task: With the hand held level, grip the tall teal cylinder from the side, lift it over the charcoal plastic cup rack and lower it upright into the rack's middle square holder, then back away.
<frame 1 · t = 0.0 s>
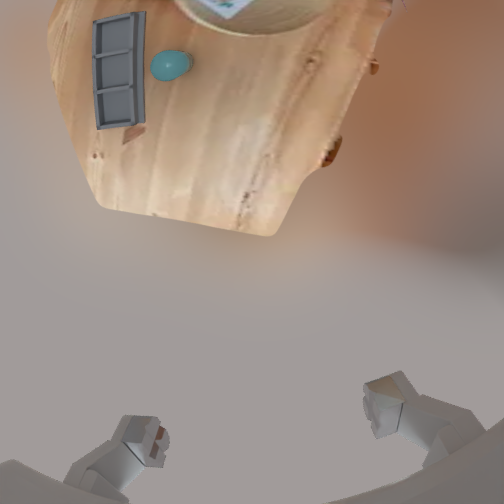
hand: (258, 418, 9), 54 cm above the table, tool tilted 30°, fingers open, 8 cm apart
teal cylinder: (180, 62, 42), on the table
cup rack: (118, 69, 40), on the table
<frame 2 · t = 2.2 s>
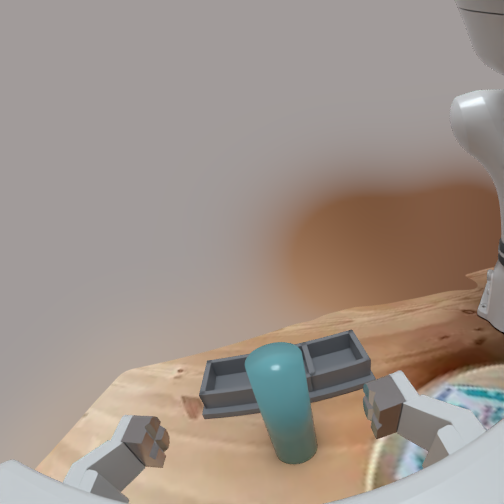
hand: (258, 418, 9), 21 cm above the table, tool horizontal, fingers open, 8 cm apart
teal cylinder: (296, 448, 26), on the table
cup rack: (286, 382, 38), on the table
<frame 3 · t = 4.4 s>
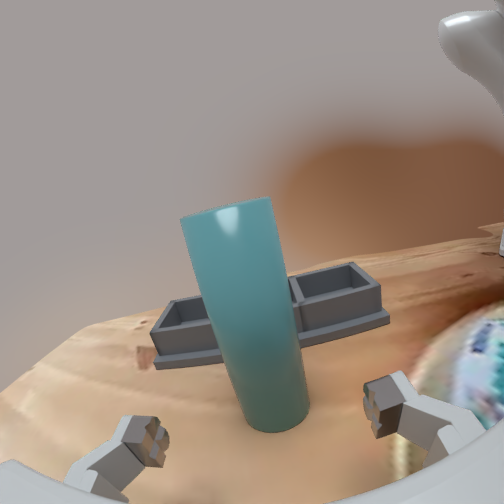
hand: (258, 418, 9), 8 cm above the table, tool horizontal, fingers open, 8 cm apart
teal cylinder: (276, 408, 18), on the table
cup rack: (268, 327, 31), on the table
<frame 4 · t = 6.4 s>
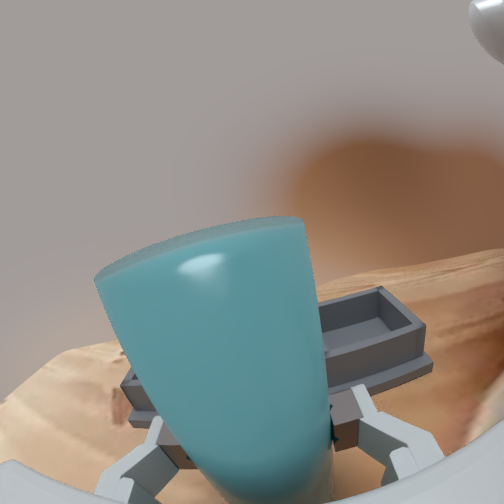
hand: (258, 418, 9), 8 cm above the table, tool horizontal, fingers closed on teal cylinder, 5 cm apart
cup rack: (275, 374, 22), on the table
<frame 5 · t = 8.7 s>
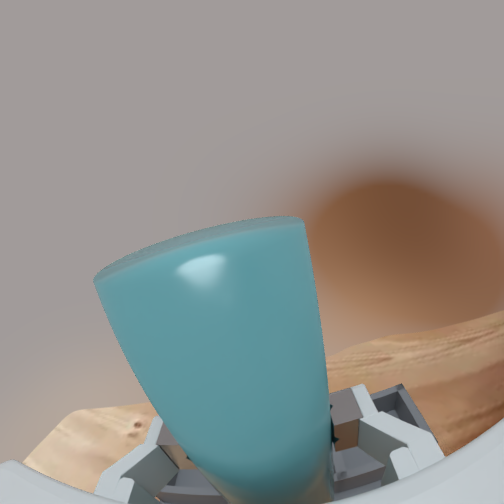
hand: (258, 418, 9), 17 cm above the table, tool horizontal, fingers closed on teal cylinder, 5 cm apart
cup rack: (293, 469, 19), on the table
when the fingers open (10 cm above the table, at t = 11.4 s): teal cylinder drops 1 cm, resting on cup rack.
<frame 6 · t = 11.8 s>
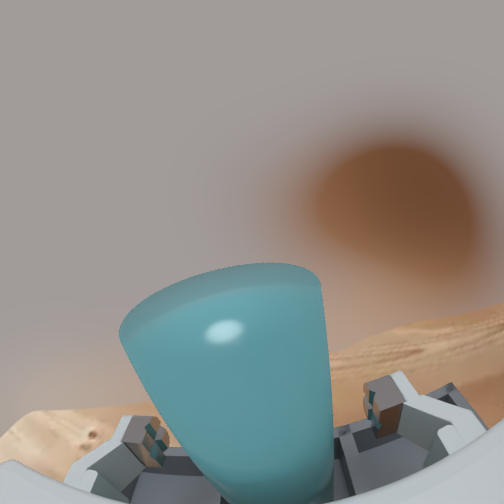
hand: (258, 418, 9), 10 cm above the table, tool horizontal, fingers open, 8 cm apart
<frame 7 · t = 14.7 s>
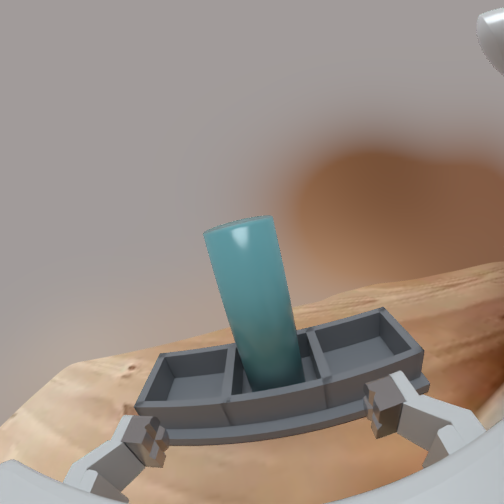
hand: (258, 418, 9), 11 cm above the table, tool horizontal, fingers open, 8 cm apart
teal cylinder: (278, 385, 23), point 1 cm above the table, touching cup rack
cup rack: (281, 392, 23), on the table
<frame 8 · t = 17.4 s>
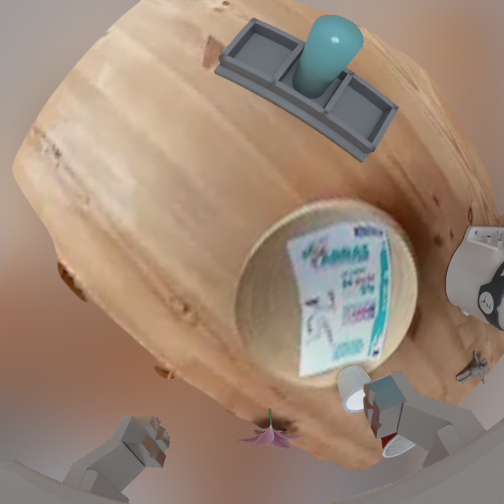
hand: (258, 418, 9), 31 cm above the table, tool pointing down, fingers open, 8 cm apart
teal cylinder: (309, 83, 32), point 1 cm above the table, touching cup rack
lily: (269, 420, 48), on the table
cup rack: (308, 85, 33), on the table
plastic cup: (387, 405, 48), on the table
grey humanoid figurine: (468, 365, 47), on the table
shot glass: (350, 375, 45), on the table
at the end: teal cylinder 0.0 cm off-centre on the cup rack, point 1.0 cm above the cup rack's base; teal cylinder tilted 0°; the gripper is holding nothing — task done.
